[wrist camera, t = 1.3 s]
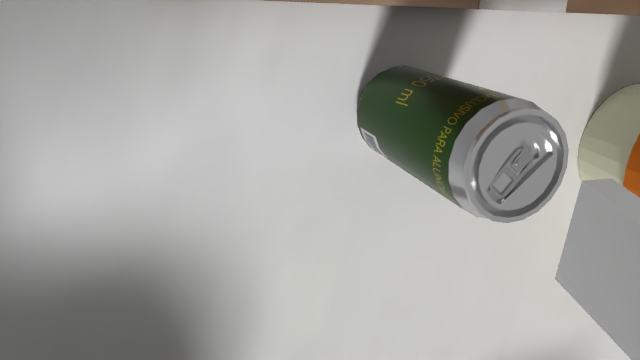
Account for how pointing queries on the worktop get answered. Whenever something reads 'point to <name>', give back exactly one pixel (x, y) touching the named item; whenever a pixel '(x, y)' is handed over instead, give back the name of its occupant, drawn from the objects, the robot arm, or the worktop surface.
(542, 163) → the beer can
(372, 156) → the worktop surface
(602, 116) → the reusable coffee cup
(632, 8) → the walnut board
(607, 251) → the robot arm
